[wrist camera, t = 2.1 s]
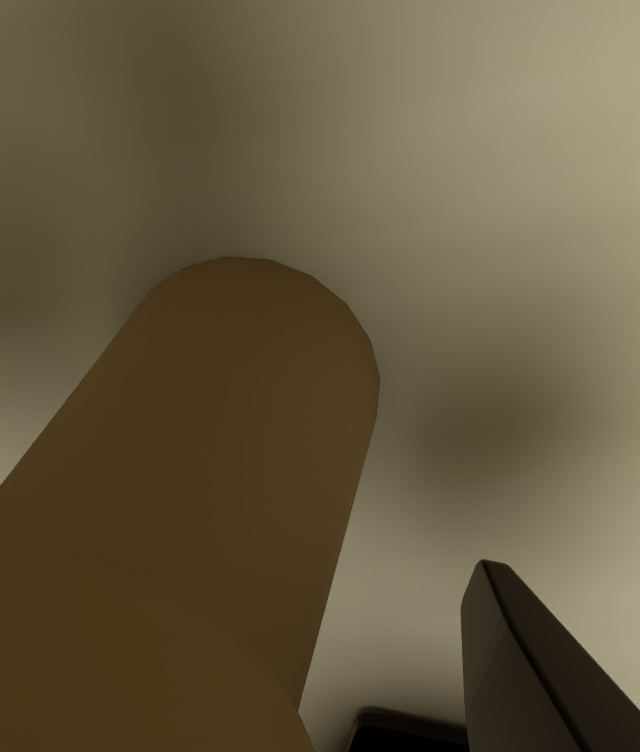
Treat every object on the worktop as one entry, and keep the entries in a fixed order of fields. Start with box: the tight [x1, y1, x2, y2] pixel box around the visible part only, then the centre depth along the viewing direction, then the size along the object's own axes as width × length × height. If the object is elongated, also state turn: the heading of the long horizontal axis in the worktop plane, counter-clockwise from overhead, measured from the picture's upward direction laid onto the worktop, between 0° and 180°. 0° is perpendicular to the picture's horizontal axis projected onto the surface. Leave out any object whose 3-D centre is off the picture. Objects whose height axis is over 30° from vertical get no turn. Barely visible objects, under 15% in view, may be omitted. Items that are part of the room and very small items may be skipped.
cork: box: [0, 257, 380, 752], centre depth 8 cm, size 6×6×11 cm
